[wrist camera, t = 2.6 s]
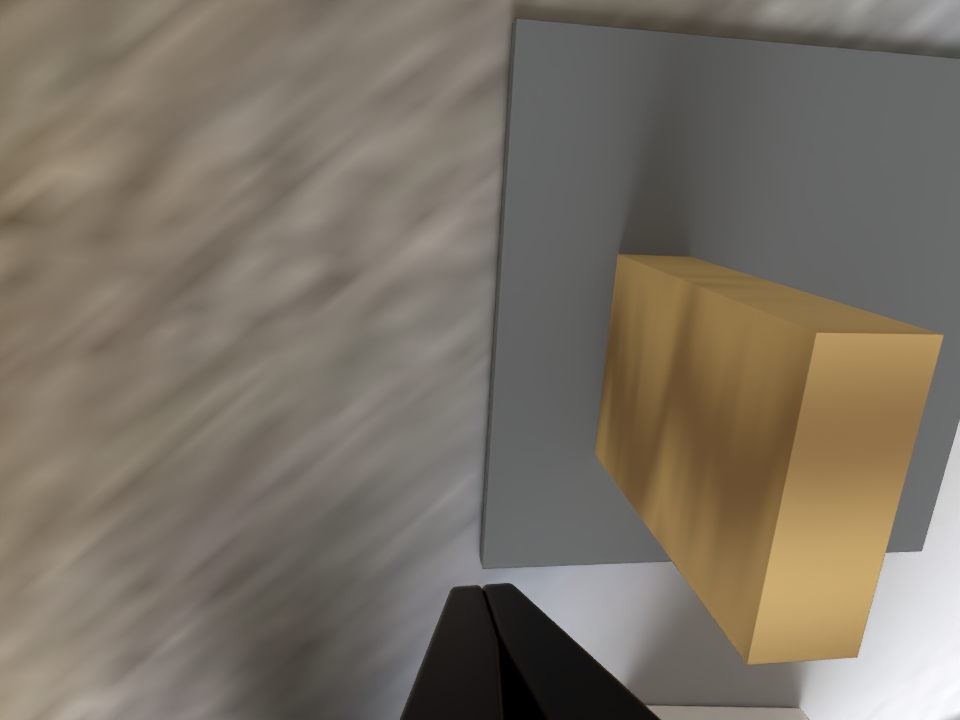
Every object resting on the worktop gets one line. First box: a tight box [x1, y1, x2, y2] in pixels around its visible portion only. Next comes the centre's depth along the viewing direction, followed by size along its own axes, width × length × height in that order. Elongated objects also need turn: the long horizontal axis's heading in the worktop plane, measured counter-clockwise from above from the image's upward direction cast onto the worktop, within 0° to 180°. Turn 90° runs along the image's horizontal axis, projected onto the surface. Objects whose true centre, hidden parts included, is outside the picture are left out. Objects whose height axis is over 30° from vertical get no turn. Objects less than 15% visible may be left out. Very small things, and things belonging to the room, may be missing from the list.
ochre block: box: [595, 254, 944, 665], centre depth 17 cm, size 7×2×10 cm, turn 176°
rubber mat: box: [480, 19, 960, 569], centre depth 22 cm, size 18×18×1 cm
